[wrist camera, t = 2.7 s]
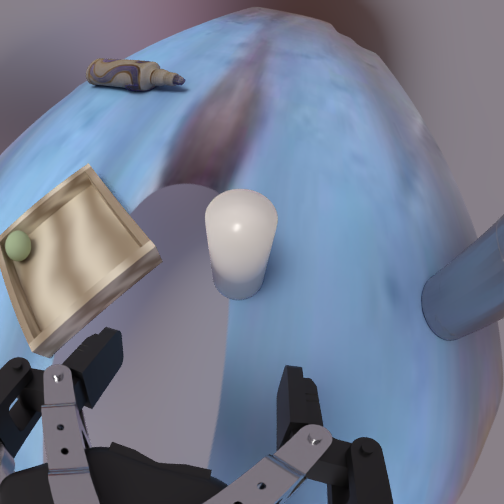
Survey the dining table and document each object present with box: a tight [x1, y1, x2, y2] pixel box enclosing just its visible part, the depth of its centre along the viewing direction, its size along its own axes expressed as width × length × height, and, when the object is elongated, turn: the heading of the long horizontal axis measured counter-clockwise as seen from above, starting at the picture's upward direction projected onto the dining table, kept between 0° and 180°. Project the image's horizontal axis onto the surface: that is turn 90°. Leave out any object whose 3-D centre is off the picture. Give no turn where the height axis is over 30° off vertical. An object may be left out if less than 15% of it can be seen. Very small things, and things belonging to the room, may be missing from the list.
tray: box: [0, 163, 162, 358], centre depth 29 cm, size 18×18×4 cm
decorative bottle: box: [86, 59, 185, 91], centre depth 47 cm, size 26×8×7 cm, turn 65°
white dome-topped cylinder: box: [205, 189, 278, 300], centre depth 26 cm, size 5×5×11 cm
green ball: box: [5, 230, 31, 261], centre depth 28 cm, size 4×4×4 cm
